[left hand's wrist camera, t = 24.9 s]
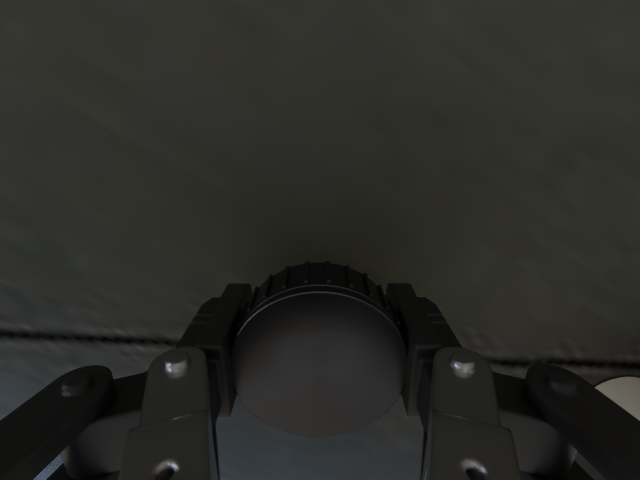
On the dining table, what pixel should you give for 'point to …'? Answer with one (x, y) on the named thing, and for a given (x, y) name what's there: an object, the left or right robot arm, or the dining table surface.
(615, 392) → the white cylindrical bottle
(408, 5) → the dining table surface
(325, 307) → the lid
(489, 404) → the left robot arm
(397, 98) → the dining table surface
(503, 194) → the dining table surface
